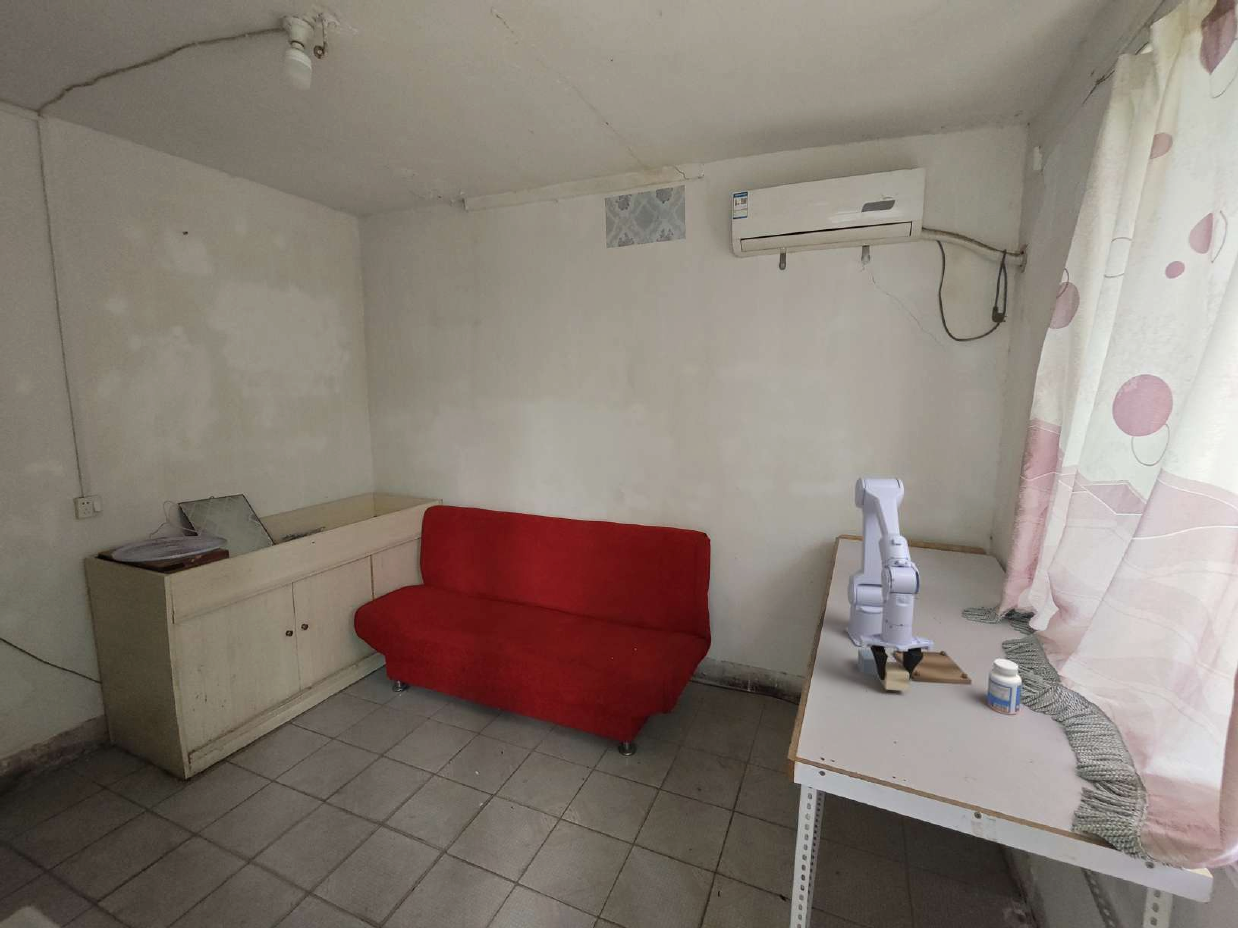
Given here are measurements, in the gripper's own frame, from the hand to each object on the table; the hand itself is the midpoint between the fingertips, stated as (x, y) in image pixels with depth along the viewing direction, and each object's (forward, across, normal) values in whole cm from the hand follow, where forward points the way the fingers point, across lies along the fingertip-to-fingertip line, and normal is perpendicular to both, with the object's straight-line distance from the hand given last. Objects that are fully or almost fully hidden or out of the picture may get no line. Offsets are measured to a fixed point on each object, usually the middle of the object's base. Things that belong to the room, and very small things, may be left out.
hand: (893, 678), depth 113 cm
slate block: (+3, -2, +8) cm, 9 cm away
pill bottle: (+3, +20, -4) cm, 21 cm away
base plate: (+3, +12, +10) cm, 16 cm away
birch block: (+1, 0, 0) cm, 1 cm away
